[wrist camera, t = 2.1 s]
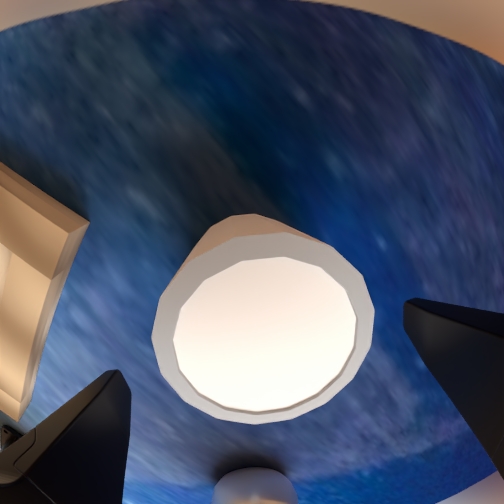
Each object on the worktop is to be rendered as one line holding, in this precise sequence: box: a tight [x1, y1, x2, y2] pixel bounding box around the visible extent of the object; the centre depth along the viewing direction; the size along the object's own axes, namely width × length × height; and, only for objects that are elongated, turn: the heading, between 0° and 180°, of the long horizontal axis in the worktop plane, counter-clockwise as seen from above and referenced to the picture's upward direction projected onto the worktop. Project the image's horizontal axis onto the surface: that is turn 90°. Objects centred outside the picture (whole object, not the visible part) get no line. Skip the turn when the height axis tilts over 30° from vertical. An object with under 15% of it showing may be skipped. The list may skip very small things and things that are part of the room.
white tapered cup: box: [151, 214, 375, 424], centre depth 12 cm, size 7×7×7 cm
